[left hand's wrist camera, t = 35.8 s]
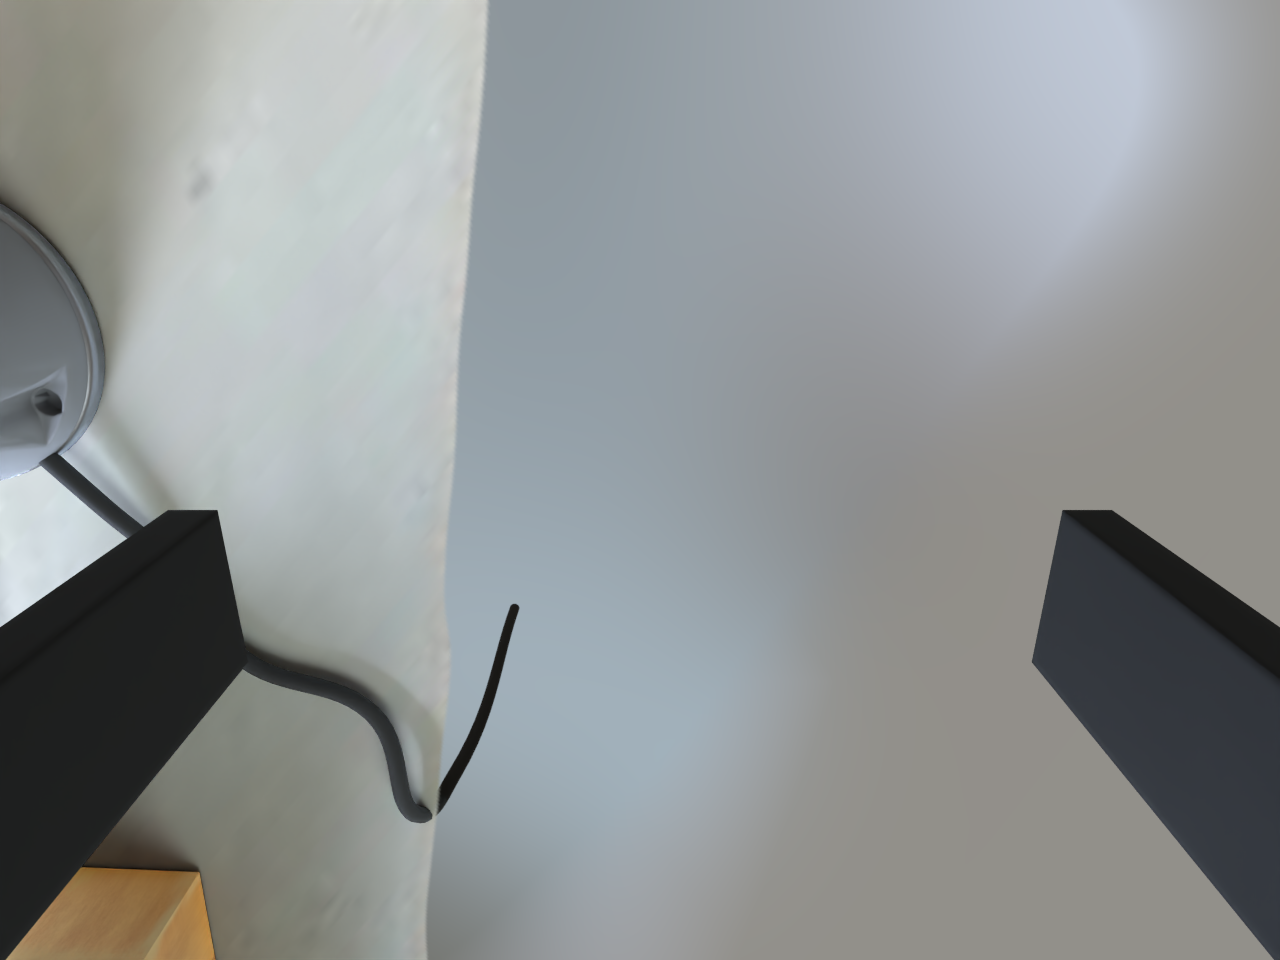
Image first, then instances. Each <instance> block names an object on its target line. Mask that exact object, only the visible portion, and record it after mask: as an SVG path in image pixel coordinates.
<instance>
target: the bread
mask: <svg viewBox="0 0 1280 960" xmlns="http://www.w3.org/2000/svg"><path fill="white" fill-rule="evenodd" d="M6 960H215V955H214V949H213V944H212V938H211V933H210V927H209V922H208V916H207V911H206V906H205V900H204V895H203V889H202V884H201V878H200V873H199V872H183V871H159V870H135V869H111V868H87V867H81V868H80V869H79V870H78V872H77V873H76V874H75V875H74V877H73V878H72V879H71V880H70V882H69V883H68V884H67V885H66V886H65V888H64V889H63V890H62V891H61V893H60V894H59V895H58V896H57V898H56V899H55V900H54V901H53V902H52V904H51V905H50V906H49V907H48V909H47V910H46V911H45V912H44V913H43V915H42V916H41V917H40V918H39V920H38V921H37V922H36V923H35V925H34V926H33V927H32V928H31V929H30V931H29V932H28V933H27V934H26V936H25V937H24V938H23V939H22V941H21V942H20V943H19V944H18V945H17V947H16V948H15V949H14V950H13V952H12V953H11V954H10V955H9V956H8V958H7V959H6Z"/></svg>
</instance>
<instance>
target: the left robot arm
mask: <svg viewBox="0 0 1280 960" xmlns="http://www.w3.org/2000/svg"><path fill="white" fill-rule="evenodd" d="M104 373H105V367H104V351H103V343H102V339H101V334H100V330H99V326H98V323H97V320H96V317H95V314H94V311H93V309H92V307H91V304H90V302H89V299H88V298H87V296H86V294H85V292H84V290H83V288H82V286H81V284H80V283H79V281H78V279H77V278H76V276H75V275H74V273H73V271H72V270H71V269H70V267H69V266H68V264H67V263H66V262H65V260H64V259H63V258H62V256H61V255H60V254H59V253H58V252H57V251H56V249H55V248H54V247H53V246H52V245H51V244H50V243H49V242H48V241H47V240H46V239H45V238H44V237H43V236H42V235H41V234H40V233H39V232H38V231H37V230H36V229H35V228H34V227H32V226H31V225H30V224H29V223H28V222H27V221H25V220H24V219H23V218H22V217H20V216H19V215H17V214H16V213H15V212H13V211H12V210H11V209H9V208H8V207H6V206H4V205H3V204H1V203H0V480H4V479H8V478H11V477H15V476H18V475H21V474H24V473H26V472H28V471H31V470H33V469H35V468H37V467H39V466H42V467H43V468H44V469H46V470H47V471H48V472H49V473H50V474H51V475H52V476H54V477H55V478H56V479H57V480H58V481H59V482H60V483H62V484H63V485H64V486H65V487H66V488H67V489H69V490H70V491H71V492H72V493H73V494H74V495H75V496H77V497H78V498H79V499H80V500H81V501H82V502H84V503H85V504H86V505H87V506H88V507H89V508H91V509H92V510H93V511H94V512H95V513H96V514H98V515H99V516H100V517H101V518H102V519H104V520H105V521H106V522H107V523H109V524H110V525H111V526H112V527H114V528H115V529H116V530H117V531H119V532H120V533H121V534H122V535H124V536H125V537H126V538H128V539H126V540H125V541H123V542H122V543H120V544H119V545H117V546H116V547H115V548H113V549H112V550H110V551H109V552H107V553H106V554H105V555H103V556H102V557H100V558H99V559H97V560H96V561H95V562H93V563H92V564H90V565H89V566H87V567H86V568H85V569H83V570H82V571H80V572H79V573H77V574H76V575H75V576H73V577H72V578H70V579H69V580H67V581H66V582H64V583H63V584H62V585H60V586H59V587H57V588H56V589H54V590H53V591H52V592H50V593H49V594H47V595H46V596H44V597H43V598H42V599H40V600H39V601H37V602H36V603H34V604H33V605H32V606H30V607H29V608H27V609H26V610H24V611H23V612H22V613H20V614H19V615H17V616H16V617H14V618H13V619H11V620H10V621H9V622H7V623H6V624H4V625H3V626H1V627H0V960H6V959H7V958H8V956H9V955H10V954H11V953H12V952H13V950H14V949H15V948H16V947H17V945H18V944H19V943H20V942H21V941H22V939H23V938H24V937H25V936H26V934H27V933H28V932H29V931H30V929H31V928H32V927H33V926H34V925H35V923H36V922H37V921H38V920H39V918H40V917H41V916H42V915H43V913H44V912H45V911H46V910H47V909H48V907H49V906H50V905H51V904H52V902H53V901H54V900H55V899H56V898H57V896H58V895H59V894H60V893H61V891H62V890H63V889H64V888H65V886H66V885H67V884H68V883H69V882H70V880H71V879H72V878H73V877H74V875H75V874H76V873H77V872H78V870H79V869H80V868H81V867H82V866H83V864H84V863H85V862H86V861H87V859H88V858H89V857H90V856H91V855H92V853H93V852H94V851H95V850H96V848H97V847H98V846H99V845H100V843H101V842H102V841H103V840H104V839H105V837H106V836H107V835H108V834H109V832H110V831H111V830H112V829H113V828H114V826H115V825H116V824H117V823H118V821H119V820H120V819H121V818H122V816H123V815H124V814H125V813H126V812H127V810H128V809H129V808H130V807H131V805H132V804H133V803H134V802H135V800H136V799H137V798H138V797H139V796H140V794H141V793H142V792H143V791H144V789H145V788H146V787H147V786H148V785H149V783H150V782H151V781H152V780H153V778H154V777H155V776H156V775H157V773H158V772H159V771H160V770H161V769H162V767H163V766H164V765H165V764H166V762H167V761H168V760H169V759H170V757H171V756H172V755H173V754H174V753H175V751H176V750H177V749H178V748H179V746H180V745H181V744H182V743H183V742H184V740H185V739H186V738H187V737H188V735H189V734H190V733H191V732H192V730H193V729H194V728H195V727H196V726H197V724H198V723H199V722H200V721H201V719H202V718H203V717H204V716H205V714H206V713H207V712H208V711H209V710H210V708H211V707H212V706H213V705H214V703H215V702H216V701H217V700H218V699H219V697H220V696H221V695H222V694H223V692H224V691H225V690H226V689H227V687H228V686H229V685H230V684H231V683H232V681H233V680H234V679H235V678H236V676H237V675H238V674H239V673H240V671H241V670H242V669H243V670H245V671H246V672H248V673H250V674H252V675H254V676H256V677H258V678H260V679H262V680H265V681H267V682H270V683H272V684H275V685H279V686H282V687H285V688H289V689H293V690H297V691H301V692H305V693H309V694H313V695H318V696H321V697H325V698H328V699H331V700H334V701H337V702H339V703H341V704H343V705H346V706H348V707H349V708H351V709H353V710H354V711H356V712H357V713H358V714H360V715H361V716H362V717H363V718H365V719H366V720H367V721H368V723H369V724H370V725H371V726H372V727H373V729H374V730H375V732H376V733H377V735H378V737H379V739H380V741H381V744H382V746H383V749H384V752H385V756H386V760H387V764H388V769H389V775H390V780H391V786H392V791H393V795H394V799H395V802H396V804H397V806H398V809H399V810H400V812H401V813H402V814H403V816H404V817H405V818H406V819H408V820H410V821H411V822H416V823H425V822H428V821H429V820H431V819H432V813H431V812H430V810H428V809H427V808H425V807H420V806H418V805H417V804H415V802H414V801H413V798H412V796H411V792H410V789H409V784H408V778H407V773H406V767H405V761H404V757H403V753H402V749H401V745H400V742H399V739H398V737H397V734H396V732H395V730H394V727H393V726H392V724H391V723H390V721H389V719H388V718H387V717H386V715H385V714H384V713H383V712H382V711H381V710H380V709H379V707H377V706H376V705H375V704H374V703H373V702H371V701H370V700H369V699H368V698H366V697H364V696H363V695H361V694H360V693H358V692H356V691H354V690H352V689H350V688H348V687H345V686H343V685H340V684H337V683H334V682H331V681H327V680H324V679H320V678H316V677H312V676H308V675H304V674H299V673H296V672H292V671H288V670H285V669H282V668H279V667H276V666H274V665H271V664H269V663H267V662H265V661H263V660H261V659H259V658H257V657H256V656H254V655H253V654H251V653H250V652H248V651H247V650H246V649H245V644H244V639H243V634H242V629H241V624H240V619H239V614H238V609H237V605H236V600H235V595H234V590H233V585H232V580H231V575H230V570H229V565H228V560H227V555H226V550H225V545H224V540H223V535H222V531H221V526H220V521H219V516H218V511H217V510H168V511H166V512H165V513H163V514H162V515H160V516H159V517H158V518H156V519H155V520H153V521H152V522H150V523H149V524H148V525H146V526H145V527H143V526H142V525H140V524H139V523H138V522H137V521H135V520H134V519H133V518H132V517H130V516H129V515H128V514H127V513H126V512H124V511H123V510H122V509H121V508H119V507H118V506H117V505H116V504H115V503H114V502H112V501H111V500H110V499H109V498H108V497H107V496H105V495H104V494H103V493H102V492H101V491H100V490H99V489H98V488H96V487H95V486H94V485H93V484H92V483H91V482H90V481H88V480H87V479H86V478H85V477H84V476H83V475H82V474H80V473H79V472H78V471H77V470H76V469H75V468H74V467H73V466H71V465H70V464H69V463H68V462H67V461H66V460H65V459H64V458H62V457H61V456H60V455H61V454H63V453H64V452H66V451H67V450H68V449H69V448H70V447H72V446H73V445H74V444H75V443H76V442H77V441H78V440H79V438H80V437H81V436H82V435H83V434H84V432H85V431H86V429H87V428H88V426H89V425H90V423H91V422H92V419H93V417H94V415H95V413H96V411H97V408H98V405H99V402H100V399H101V395H102V390H103V384H104ZM518 612H519V606H518V605H517V604H512V605H511V606H510V608H509V611H508V614H507V617H506V620H505V623H504V626H503V630H502V633H501V637H500V640H499V644H498V647H497V651H496V655H495V658H494V662H493V666H492V669H491V673H490V676H489V680H488V683H487V686H486V690H485V693H484V696H483V699H482V702H481V705H480V708H479V710H478V713H477V715H476V718H475V721H474V723H473V725H472V728H471V730H470V732H469V734H468V736H467V738H466V740H465V742H464V744H463V746H462V748H461V750H460V752H459V754H458V756H457V757H456V759H455V761H454V762H453V764H452V766H451V768H450V769H449V771H448V773H447V774H446V776H445V778H444V780H443V781H442V783H441V785H440V787H439V790H438V791H439V793H438V801H437V802H438V804H437V812H436V813H437V814H436V816H437V815H438V814H439V813H440V812H441V810H442V809H443V808H444V806H445V805H446V803H447V801H448V800H449V798H450V796H451V794H452V792H453V791H454V789H455V787H456V785H457V783H458V781H459V780H460V778H461V776H462V774H463V772H464V771H465V769H466V767H467V765H468V763H469V762H470V760H471V758H472V755H473V753H474V751H475V749H476V747H477V745H478V743H479V740H480V738H481V736H482V733H483V731H484V728H485V726H486V723H487V720H488V718H489V715H490V712H491V709H492V706H493V702H494V699H495V696H496V692H497V689H498V685H499V681H500V678H501V674H502V670H503V666H504V662H505V658H506V654H507V650H508V646H509V642H510V638H511V635H512V631H513V627H514V624H515V621H516V618H517V615H518ZM1032 663H1033V664H1034V665H1035V667H1036V668H1037V669H1038V670H1039V671H1040V673H1041V674H1042V675H1043V676H1044V678H1045V679H1046V680H1047V681H1048V682H1049V684H1050V685H1051V686H1052V687H1053V689H1054V690H1055V691H1056V692H1057V694H1058V695H1059V696H1060V697H1061V699H1062V700H1063V701H1064V702H1065V703H1066V705H1067V706H1068V707H1069V708H1070V710H1071V711H1072V712H1073V713H1074V714H1075V716H1076V717H1077V718H1078V719H1079V721H1080V722H1081V723H1082V724H1083V725H1084V727H1085V728H1086V729H1087V730H1088V732H1089V733H1090V734H1091V735H1092V737H1093V738H1094V739H1095V740H1096V741H1097V743H1098V744H1099V745H1100V746H1101V748H1102V749H1103V750H1104V751H1105V753H1106V754H1107V755H1108V756H1109V757H1110V759H1111V760H1112V761H1113V762H1114V764H1115V765H1116V766H1117V767H1118V768H1119V770H1120V771H1121V772H1122V773H1123V775H1124V776H1125V777H1126V778H1127V780H1128V781H1129V782H1130V783H1131V784H1132V786H1133V787H1134V788H1135V789H1136V791H1137V792H1138V793H1139V794H1140V796H1141V797H1142V798H1143V799H1144V800H1145V802H1146V803H1147V804H1148V805H1149V807H1150V808H1151V809H1152V810H1153V812H1154V813H1155V814H1156V815H1157V816H1158V818H1159V819H1160V820H1161V821H1162V823H1163V824H1164V825H1165V826H1166V827H1167V829H1168V830H1169V831H1170V832H1171V834H1172V835H1173V836H1174V837H1175V839H1176V840H1177V841H1178V842H1179V843H1180V845H1181V846H1182V847H1183V848H1184V850H1185V851H1186V852H1187V853H1188V855H1189V856H1190V857H1191V858H1192V859H1193V861H1194V862H1195V863H1196V864H1197V866H1198V867H1199V868H1200V869H1201V870H1202V872H1203V873H1204V874H1205V875H1206V877H1207V878H1208V879H1209V880H1210V881H1211V883H1212V884H1213V885H1214V886H1215V888H1216V889H1217V890H1218V891H1219V893H1220V894H1221V895H1222V896H1223V897H1224V899H1225V900H1226V901H1227V902H1228V904H1229V905H1230V906H1231V907H1232V909H1233V910H1234V911H1235V912H1236V913H1237V915H1238V916H1239V917H1240V918H1241V920H1242V921H1243V922H1244V923H1245V925H1246V926H1247V927H1248V928H1249V929H1250V931H1251V932H1252V933H1253V934H1254V936H1255V937H1256V938H1257V939H1258V940H1259V942H1260V943H1261V944H1262V945H1263V947H1264V948H1265V949H1266V950H1267V952H1268V953H1269V954H1270V955H1271V956H1272V958H1273V959H1274V960H1280V627H1278V626H1277V625H1276V624H1274V623H1273V622H1271V621H1270V620H1268V619H1267V618H1266V617H1264V616H1263V615H1261V614H1260V613H1258V612H1257V611H1256V610H1254V609H1253V608H1251V607H1250V606H1248V605H1247V604H1246V603H1244V602H1243V601H1241V600H1240V599H1238V598H1237V597H1236V596H1234V595H1233V594H1231V593H1230V592H1228V591H1227V590H1226V589H1224V588H1223V587H1221V586H1220V585H1218V584H1217V583H1215V582H1214V581H1213V580H1211V579H1210V578H1208V577H1207V576H1205V575H1204V574H1203V573H1201V572H1200V571H1198V570H1197V569H1195V568H1194V567H1193V566H1191V565H1190V564H1188V563H1187V562H1185V561H1184V560H1183V559H1181V558H1180V557H1178V556H1177V555H1175V554H1174V553H1172V552H1171V551H1170V550H1168V549H1167V548H1165V547H1164V546H1162V545H1161V544H1160V543H1158V542H1157V541H1155V540H1154V539H1152V538H1151V537H1150V536H1148V535H1147V534H1145V533H1144V532H1142V531H1141V530H1140V529H1138V528H1137V527H1135V526H1134V525H1132V524H1131V523H1130V522H1128V521H1127V520H1125V519H1124V518H1122V517H1121V516H1120V515H1118V514H1117V513H1115V512H1114V511H1112V510H1063V511H1062V516H1061V521H1060V526H1059V531H1058V536H1057V540H1056V546H1055V550H1054V555H1053V560H1052V565H1051V570H1050V575H1049V580H1048V585H1047V590H1046V595H1045V600H1044V605H1043V609H1042V614H1041V619H1040V624H1039V629H1038V634H1037V639H1036V644H1035V649H1034V654H1033V659H1032Z"/></svg>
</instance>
